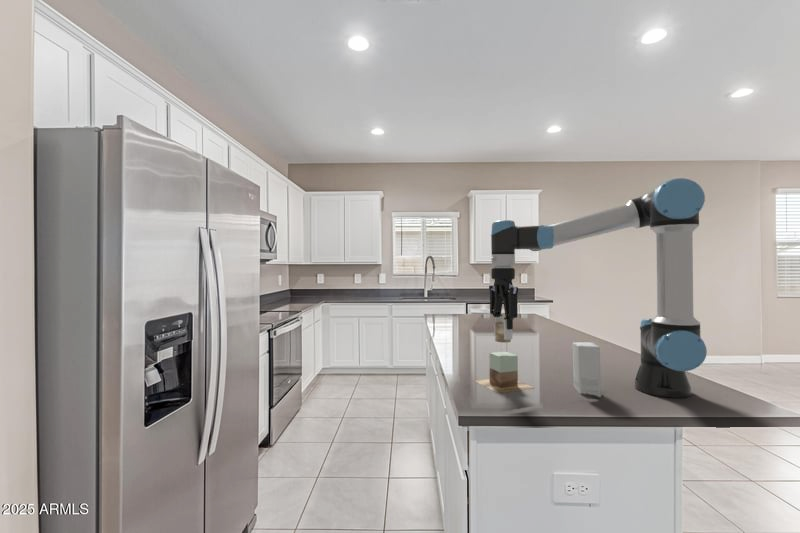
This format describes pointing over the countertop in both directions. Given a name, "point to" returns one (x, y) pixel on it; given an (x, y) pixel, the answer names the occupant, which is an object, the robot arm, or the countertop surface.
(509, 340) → the oak cylinder
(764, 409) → the countertop surface
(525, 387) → the light wood square board
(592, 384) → the skincare box
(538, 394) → the countertop surface
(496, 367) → the sage mid block
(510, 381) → the walnut base block
